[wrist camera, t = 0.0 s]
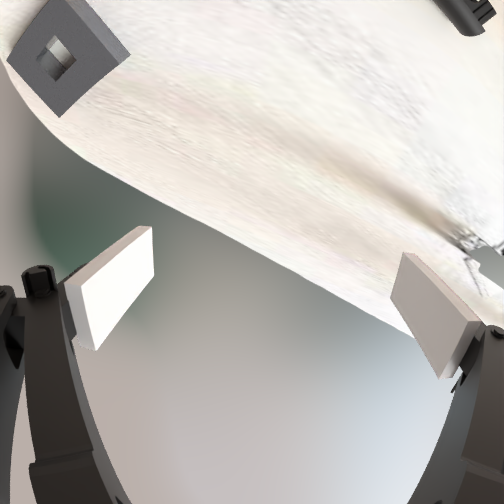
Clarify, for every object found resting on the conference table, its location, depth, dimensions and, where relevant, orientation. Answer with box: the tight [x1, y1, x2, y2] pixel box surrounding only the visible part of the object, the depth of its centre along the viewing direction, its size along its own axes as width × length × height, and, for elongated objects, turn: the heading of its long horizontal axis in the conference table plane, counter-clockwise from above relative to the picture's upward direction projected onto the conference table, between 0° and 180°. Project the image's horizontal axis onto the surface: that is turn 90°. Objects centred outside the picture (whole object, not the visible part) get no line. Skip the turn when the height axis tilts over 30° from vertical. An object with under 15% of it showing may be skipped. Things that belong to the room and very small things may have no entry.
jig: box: [6, 0, 130, 118], centre depth 32 cm, size 18×18×4 cm
